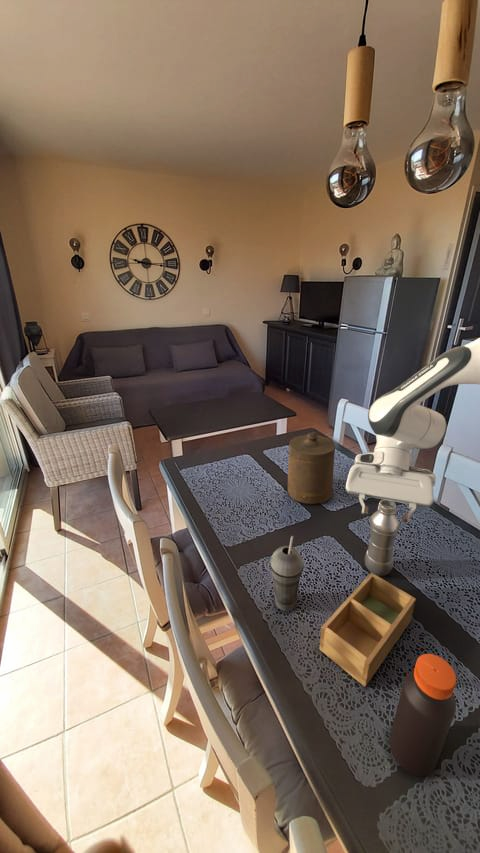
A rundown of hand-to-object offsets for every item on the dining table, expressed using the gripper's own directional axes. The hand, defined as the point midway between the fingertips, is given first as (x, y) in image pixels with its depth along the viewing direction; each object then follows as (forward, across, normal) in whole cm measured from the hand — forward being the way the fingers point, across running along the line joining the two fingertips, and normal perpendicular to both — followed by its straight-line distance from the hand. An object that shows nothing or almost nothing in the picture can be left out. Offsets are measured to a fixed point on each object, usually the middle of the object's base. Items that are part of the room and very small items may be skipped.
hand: (384, 517), depth 88 cm
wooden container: (-8, +23, -28) cm, 37 cm away
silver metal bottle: (+12, 0, -8) cm, 15 cm away
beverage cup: (+24, +19, +4) cm, 31 cm away
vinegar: (+38, -7, +18) cm, 43 cm away
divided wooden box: (+26, +1, +6) cm, 26 cm away
